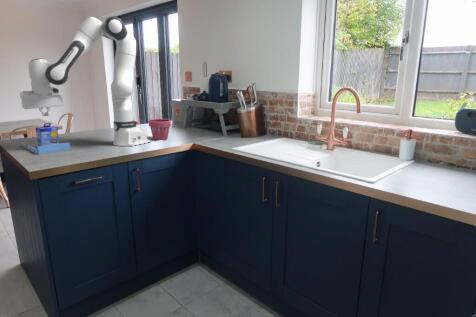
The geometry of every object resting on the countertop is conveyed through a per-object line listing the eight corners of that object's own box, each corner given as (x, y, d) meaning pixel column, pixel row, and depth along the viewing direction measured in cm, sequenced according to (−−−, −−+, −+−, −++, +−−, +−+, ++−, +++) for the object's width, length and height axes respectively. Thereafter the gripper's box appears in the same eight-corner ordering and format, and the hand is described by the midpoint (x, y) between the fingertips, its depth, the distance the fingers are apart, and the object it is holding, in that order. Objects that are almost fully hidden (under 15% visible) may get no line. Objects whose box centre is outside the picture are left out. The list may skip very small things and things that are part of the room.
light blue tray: (50, 141, 204) (49, 135, 203) (70, 149, 183) (69, 142, 182) (19, 145, 192) (18, 138, 191) (37, 154, 172) (36, 146, 171)
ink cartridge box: (42, 150, 181) (39, 124, 177) (37, 149, 184) (34, 123, 180) (60, 147, 189) (57, 122, 185) (55, 146, 192) (52, 121, 188)
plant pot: (168, 141, 210) (167, 121, 207) (146, 141, 210) (145, 121, 207) (173, 137, 224) (172, 118, 220) (152, 137, 224) (152, 118, 221)
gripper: (21, 91, 166) (26, 118, 170) (63, 89, 181) (67, 114, 184) (17, 91, 170) (22, 117, 174) (59, 89, 185) (63, 113, 188)
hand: (45, 116), depth 179 cm, fingers closed
